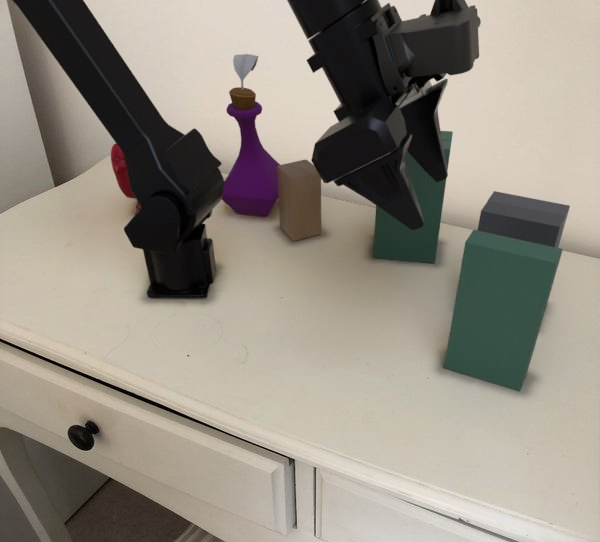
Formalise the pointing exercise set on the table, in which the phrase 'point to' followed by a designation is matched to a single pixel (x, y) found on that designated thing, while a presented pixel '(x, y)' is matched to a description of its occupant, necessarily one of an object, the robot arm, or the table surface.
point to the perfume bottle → (249, 153)
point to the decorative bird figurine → (122, 173)
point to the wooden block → (299, 199)
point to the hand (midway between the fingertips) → (431, 202)
